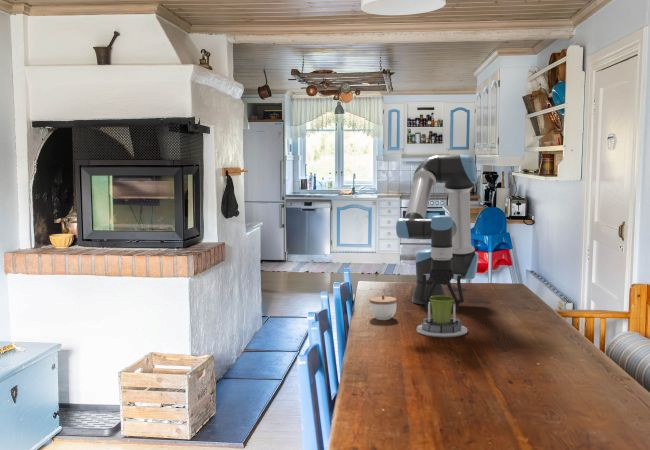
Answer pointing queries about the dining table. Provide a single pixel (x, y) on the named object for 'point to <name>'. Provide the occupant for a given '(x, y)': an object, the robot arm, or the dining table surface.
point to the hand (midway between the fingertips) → (441, 321)
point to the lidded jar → (383, 307)
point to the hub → (442, 328)
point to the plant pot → (441, 308)
